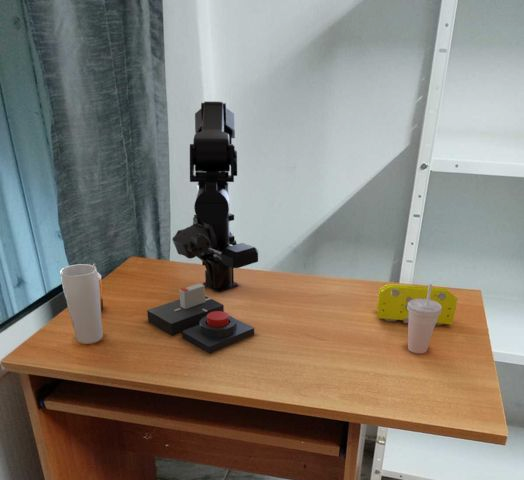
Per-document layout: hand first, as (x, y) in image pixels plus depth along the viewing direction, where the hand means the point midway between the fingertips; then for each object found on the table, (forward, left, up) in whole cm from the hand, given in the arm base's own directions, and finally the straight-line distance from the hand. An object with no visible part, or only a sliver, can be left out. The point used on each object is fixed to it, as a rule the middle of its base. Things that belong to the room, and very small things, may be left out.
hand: (216, 287), depth 107 cm
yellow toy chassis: (-36, +24, -11) cm, 45 cm away
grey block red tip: (-1, -10, -8) cm, 13 cm away
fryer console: (+1, -10, -11) cm, 15 cm away
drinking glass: (+21, -16, -11) cm, 28 cm away
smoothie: (-25, +32, -11) cm, 42 cm away
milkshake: (+13, -28, -11) cm, 33 cm away
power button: (+1, +1, -7) cm, 7 cm away
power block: (+1, +1, -11) cm, 11 cm away
